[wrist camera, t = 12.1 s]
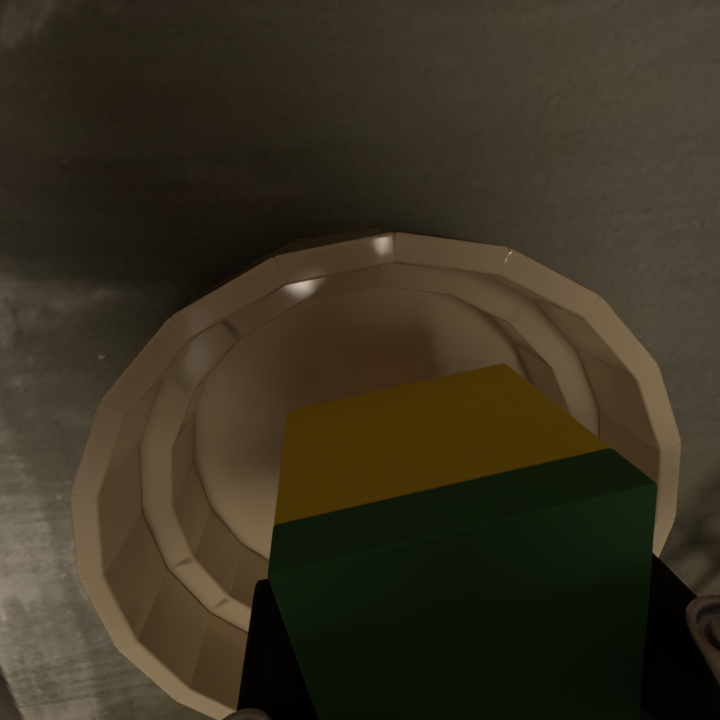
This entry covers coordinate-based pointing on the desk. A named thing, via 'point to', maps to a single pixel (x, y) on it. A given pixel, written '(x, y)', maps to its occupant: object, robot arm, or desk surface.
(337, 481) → the sponge
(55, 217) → the desk surface
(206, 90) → the desk surface
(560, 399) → the wash bowl
